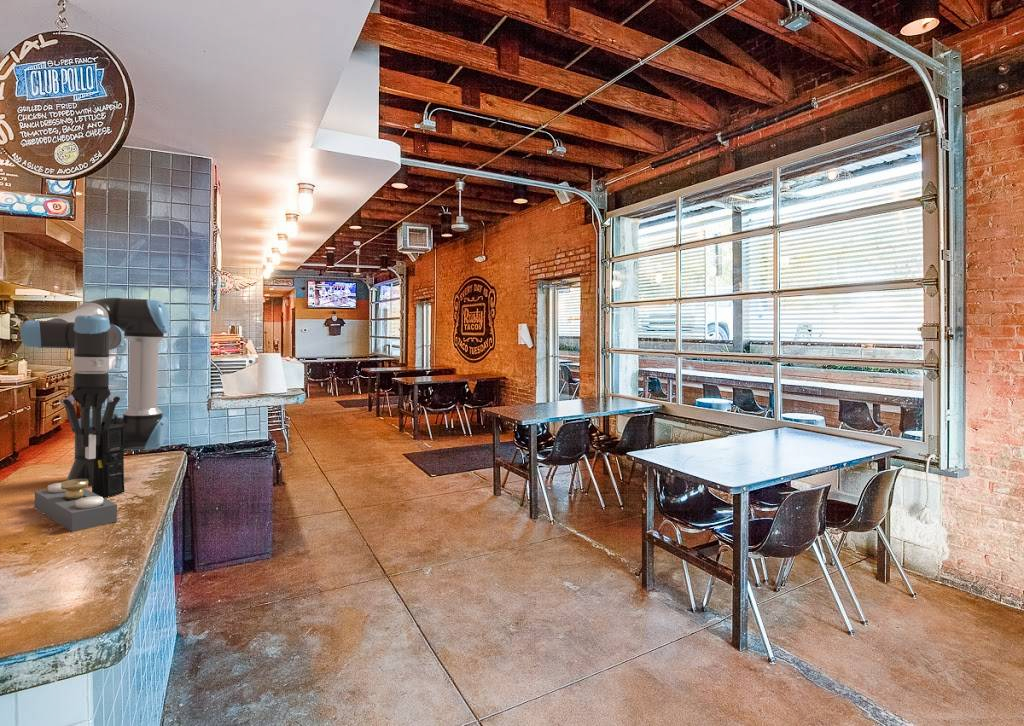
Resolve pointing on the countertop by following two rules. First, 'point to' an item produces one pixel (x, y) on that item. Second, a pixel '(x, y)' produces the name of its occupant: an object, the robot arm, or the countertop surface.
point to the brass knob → (74, 488)
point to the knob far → (89, 502)
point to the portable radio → (109, 462)
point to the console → (74, 510)
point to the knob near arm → (55, 488)
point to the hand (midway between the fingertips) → (90, 458)
